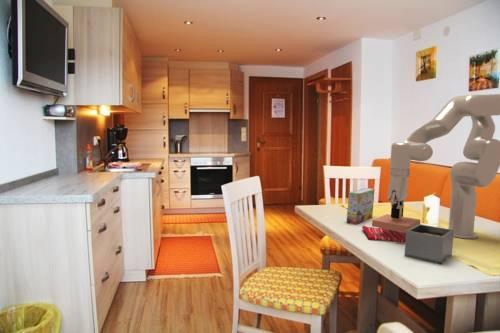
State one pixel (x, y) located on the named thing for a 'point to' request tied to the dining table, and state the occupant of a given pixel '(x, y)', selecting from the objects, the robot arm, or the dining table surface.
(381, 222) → the lid
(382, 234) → the dish towel
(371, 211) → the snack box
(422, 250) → the tin
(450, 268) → the dining table surface
